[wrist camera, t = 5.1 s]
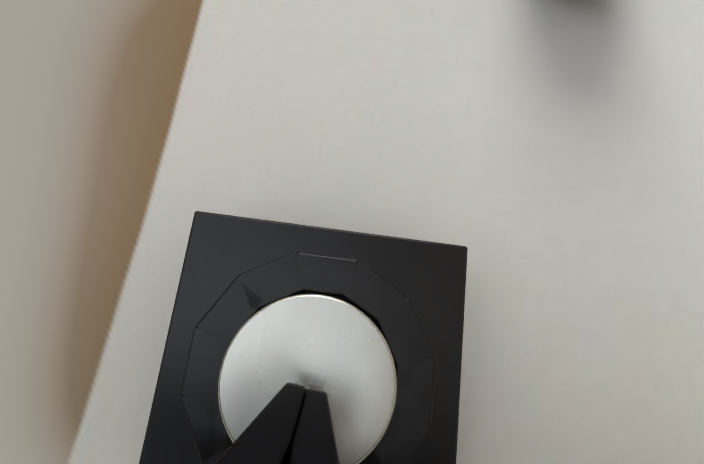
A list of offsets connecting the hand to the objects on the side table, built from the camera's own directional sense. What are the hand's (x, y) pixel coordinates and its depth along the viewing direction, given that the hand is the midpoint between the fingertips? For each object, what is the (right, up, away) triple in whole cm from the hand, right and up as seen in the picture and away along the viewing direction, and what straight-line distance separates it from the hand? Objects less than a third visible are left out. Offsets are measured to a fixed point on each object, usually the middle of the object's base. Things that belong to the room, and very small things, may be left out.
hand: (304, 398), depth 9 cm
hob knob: (0, -1, +4) cm, 4 cm away
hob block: (-1, -2, +10) cm, 10 cm away
